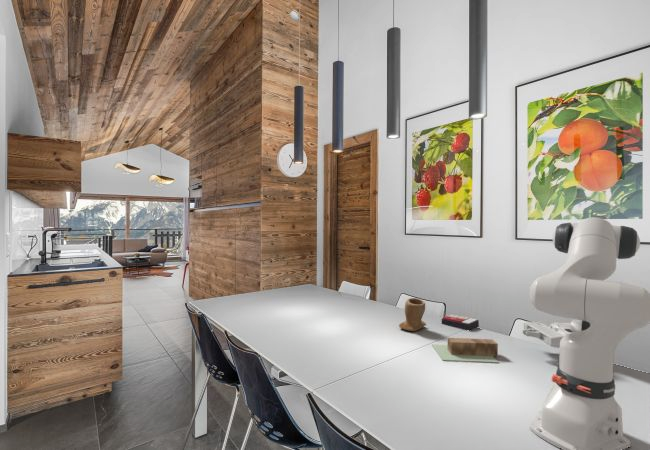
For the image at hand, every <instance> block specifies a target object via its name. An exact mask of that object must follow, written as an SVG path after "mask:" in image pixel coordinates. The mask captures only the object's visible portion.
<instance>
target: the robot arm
mask: <svg viewBox="0 0 650 450" xmlns="http://www.w3.org/2000/svg"><path fill="white" fill-rule="evenodd" d="M553 231H554V232H553V233H552V243H553V245H554V248H555V250H557V252H560V253H564V254H566V257H565V260H564V262H563V263H562V264H561V266H559V267H557V269H555V270H554V271H553V270H552V271H551V272H549V273H547V274H545V275H542V276H538V277H537V278H535V279H534V280H533V282H532V283H531V284H530V287H529V293H528V294H529V300H530V302H531V303H532V305H533V306H534V308H535V309H536V310H538V311H540V312H543V313H546V314H548V315H552V316H555V317H559V318H560V317H561V318H566V319H571V322H557V321H556V322H551V323H550V325H548V324H545V323H543V322H538V321H524V322H523V329H522V334H523V335H525V337H526V336H527V337H532V338H536V339H539V340H541V341H542V342H543V343H546V344H547V345H549V346H550V347H553V348H559V360H558V361H559V362H558V365H557V369H556V371H555V373H554V374H552V376H551V381H552V383H553V385H552V387H551V388H550V391H549V392H548V394H547V396H546V398H545V400H544V403H543V404H542V407H541V410H540V411H539V412H538V414H537V415H536V416H535V417H534V419H533V420H532V422H531V423H530V424H529V429H530V430H531V431H532V432H533V433H534V434H535V435H536V436H538V437H540V438H541V439H542V440H544V441H545V442H547V443H549V444H551V445H553V446H555V447H557V448H558V449H560V448H561V450H621V449H624V450H626V449H625V448H627V449H629V448H628V447H630V446H631V447H632V443H631V441H630V440H629V439H628V437H626V436H625V435H624V427H623V410H622V409H623V408H622V407H621V406H620V405H619V403H618V402H617V399H615V392H616V383H615V378H614V377H613V376H614V375H613V373H614V364H615V363H614V361H615V356H616V351H617V348H618V346H619V345H620V343H621V342H622V341H623V340H624V339H625V338H626V337H627V336H628V335H629V334H631V333H633V332H634V331H637V330H639V329H642V328H645V327H646V326H648V325H649V324H650V292H649V291H648V290H647V289H645V288H644V287H641V286H637V285H633V284H629V283H625V282H619V281H611V280H607V279H609V278H610V277H611V276H612V275H613V274H615V271H616V269H617V259H618V260H627V259H631V258H634V257H635V256H636V253H637V252H638V251H639V249H640V246H641V239H640V237H639V234H638V232H637V230H636V229H634V228H633V227H630V226H625V225H613V224H611V223H610V222H609V221H608V220H606V219H603V218H601V217H595V216H593V217H587V218H584V219H582V220H581V219H580V221H579V222H577V223H576V222H575V223H572V222H564V223H561V224H559V225H557V226H556V228H555V229H554V230H553ZM631 447H630V448H631Z"/></svg>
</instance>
